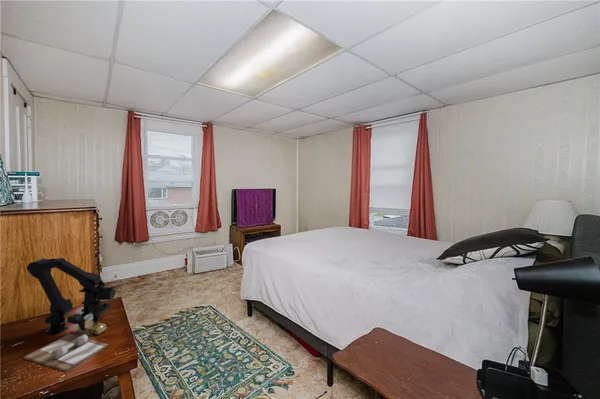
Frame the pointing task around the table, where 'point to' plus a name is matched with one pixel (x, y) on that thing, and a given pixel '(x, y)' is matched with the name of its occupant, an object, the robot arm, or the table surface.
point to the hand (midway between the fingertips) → (89, 327)
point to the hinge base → (55, 363)
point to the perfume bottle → (92, 327)
